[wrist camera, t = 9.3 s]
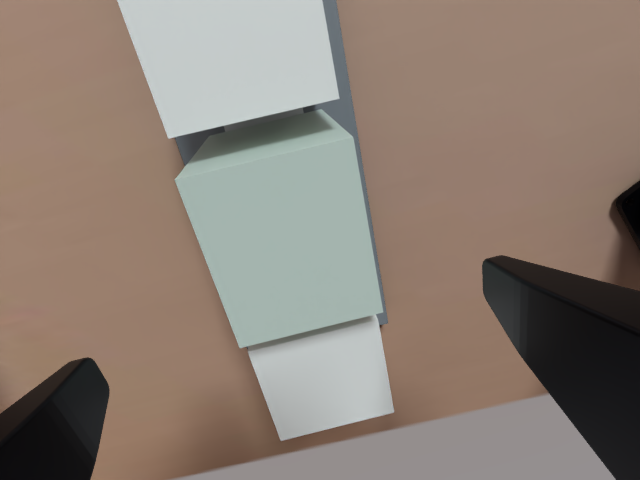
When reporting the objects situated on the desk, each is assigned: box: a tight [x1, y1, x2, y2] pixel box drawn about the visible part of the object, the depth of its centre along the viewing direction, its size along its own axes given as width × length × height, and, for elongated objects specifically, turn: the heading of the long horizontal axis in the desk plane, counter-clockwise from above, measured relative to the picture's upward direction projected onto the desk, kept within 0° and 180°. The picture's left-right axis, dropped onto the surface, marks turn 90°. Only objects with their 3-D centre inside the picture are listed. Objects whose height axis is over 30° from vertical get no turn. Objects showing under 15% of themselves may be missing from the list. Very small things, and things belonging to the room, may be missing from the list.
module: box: [175, 109, 383, 348], centre depth 15 cm, size 6×5×7 cm
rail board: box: [117, 0, 394, 441], centre depth 16 cm, size 19×8×7 cm, turn 12°
